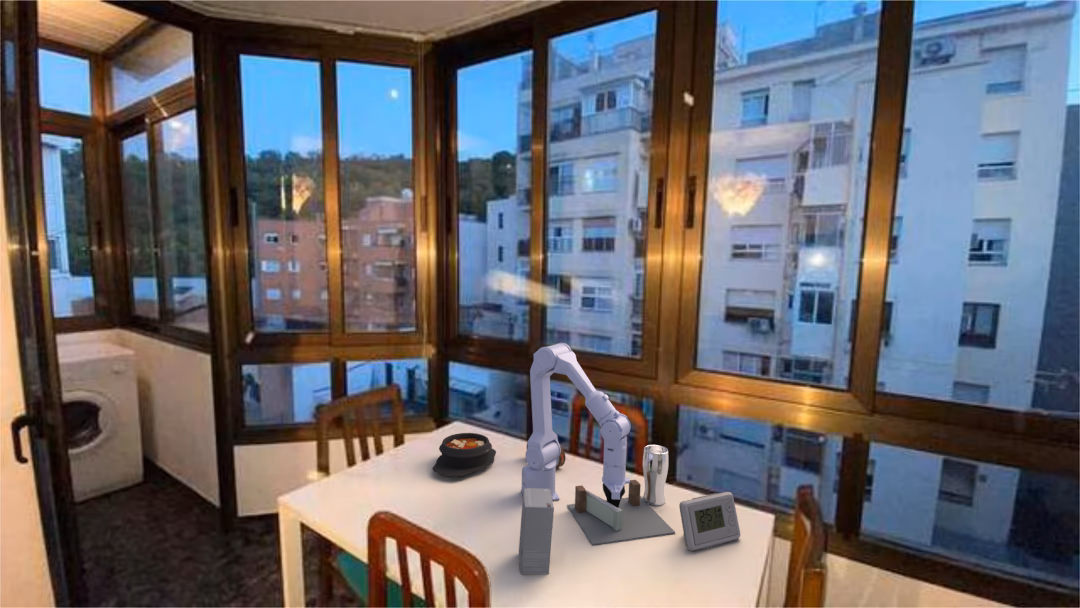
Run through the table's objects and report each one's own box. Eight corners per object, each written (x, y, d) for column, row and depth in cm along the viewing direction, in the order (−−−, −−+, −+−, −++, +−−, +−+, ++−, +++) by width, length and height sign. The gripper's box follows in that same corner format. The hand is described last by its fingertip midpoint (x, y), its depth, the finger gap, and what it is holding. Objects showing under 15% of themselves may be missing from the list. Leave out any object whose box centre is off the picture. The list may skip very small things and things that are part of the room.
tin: (565, 470, 158) (566, 444, 157) (559, 473, 155) (560, 447, 154) (530, 457, 167) (531, 433, 167) (524, 459, 165) (525, 435, 164)
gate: (583, 510, 131) (584, 491, 131) (589, 508, 132) (590, 489, 132) (616, 530, 122) (617, 510, 121) (622, 528, 123) (622, 508, 122)
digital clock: (686, 554, 114) (688, 510, 113) (669, 533, 123) (670, 492, 122) (749, 547, 117) (752, 505, 116) (727, 527, 126) (730, 487, 125)
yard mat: (592, 545, 116) (592, 543, 116) (567, 506, 135) (567, 504, 135) (675, 533, 122) (675, 532, 122) (640, 497, 140) (640, 496, 140)
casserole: (469, 487, 144) (469, 460, 144) (417, 475, 152) (417, 448, 151) (508, 456, 167) (509, 433, 166) (462, 447, 175) (462, 424, 174)
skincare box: (518, 552, 113) (519, 486, 111) (549, 551, 114) (550, 486, 112) (519, 576, 105) (521, 505, 103) (553, 575, 105) (554, 504, 104)
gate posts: (578, 514, 130) (579, 491, 130) (574, 509, 133) (575, 486, 132) (639, 507, 135) (640, 484, 134) (634, 501, 138) (635, 479, 137)
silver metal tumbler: (664, 495, 142) (666, 445, 140) (668, 507, 135) (670, 454, 134) (640, 493, 143) (642, 443, 141) (642, 505, 136) (644, 453, 134)
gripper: (633, 475, 119) (631, 528, 120) (627, 452, 133) (625, 499, 135) (604, 473, 119) (602, 526, 121) (601, 450, 134) (599, 498, 135)
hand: (612, 512), depth 128 cm, fingers closed, pressing on gate
